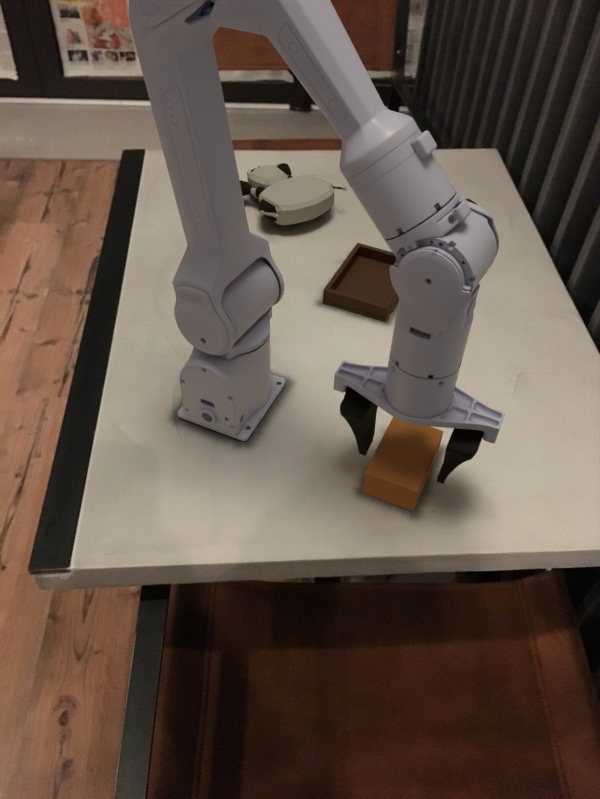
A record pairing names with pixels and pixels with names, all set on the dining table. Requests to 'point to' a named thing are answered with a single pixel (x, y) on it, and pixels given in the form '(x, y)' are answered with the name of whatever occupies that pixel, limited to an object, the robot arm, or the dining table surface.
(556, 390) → the dining table surface
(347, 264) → the frame
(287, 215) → the robot toy
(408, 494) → the orange block
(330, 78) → the robot arm
